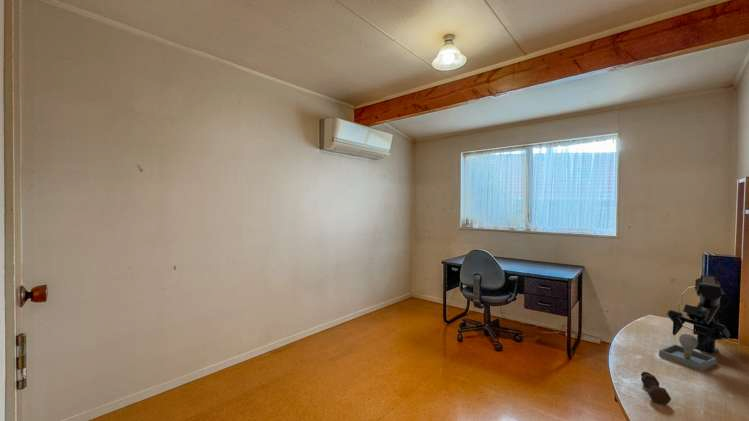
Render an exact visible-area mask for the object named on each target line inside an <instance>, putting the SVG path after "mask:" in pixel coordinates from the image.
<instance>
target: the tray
mask: <svg viewBox="0 0 749 421" xmlns="http://www.w3.org/2000/svg"><path fill="white" fill-rule="evenodd" d="M658 356H659V357H661V358H663V359H666V360H669V361H672V362H674V363H677V364H680V365H683V366H685V367H688V368H691V369H693V370H696V371H699V372H703V371H704V370H707V369H709V368H711V367H713V366H715V365H716V364H717V357H714V356H712V355H709V354H705V353H703V352H699V351H697V350H695V349H693V350H692V354H691V358H688V359H687V358H686V357H684V348H683V347H682V345H679V344H675V343H674V344H672V345H669V346H667V347H664V348H661V349H659V350H658Z"/></svg>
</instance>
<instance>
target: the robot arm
mask: <svg viewBox="0 0 749 421" xmlns="http://www.w3.org/2000/svg"><path fill="white" fill-rule="evenodd" d="M694 291H696V295H697V296H698V297H699V302H698V304H697V305H695V306H694V305H690V304H684V307H683V310H682V312H683V313H685V314H686V316H684V315H683V314H682V312H679V311H676V310H673V309H669V310H668V312H667V313H666V315H667V316H668V318H669V319H670V320H671V322H672V336H676V335H677V334H678V333H679V332H680V330H681V329H682V328H683V327H684V325H683V324H685V323H688V324H691V325H693V328H692V329H693V331H692V334H693V335H696V339H697V342H698V344H697V346H696V347H695V348H694V349H697V350H701V351H704V352H706V353H710V354H714V353H716V352H719V349H718V348H716V341H717V340H719V341H721V340H723V339H726V340H728V339H729V338H730V337H731V332H730V331H729V329H728V327H727V326H726V325H724V324H721V323H720V321H719V317H718V316H717V315H716V313H717V311H718V310H719V308H720V307H721V304H720V301H721V299H723V298H725V297H726V296H725V295H726V293H725V291H724V290H723V288H721V283H720V281H718V280H717V278H716V276H713V275H706V274H702V275H700V277H699V278H696V279H695V284H694Z"/></svg>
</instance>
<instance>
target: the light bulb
mask: <svg viewBox="0 0 749 421" xmlns="http://www.w3.org/2000/svg"><path fill="white" fill-rule="evenodd" d="M678 340H679V343H680V346H682V347H683V348H684V357H686V358H687V359H688V358H691V354H692V350H695V349H696V348H695V347H696V346H697V344H698V342H697V337H695V336H693V335H692V334H688V333H684V334H681V335H680V336H679V338H678Z"/></svg>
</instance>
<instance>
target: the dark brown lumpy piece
mask: <svg viewBox="0 0 749 421" xmlns="http://www.w3.org/2000/svg"><path fill="white" fill-rule="evenodd" d="M640 380H641V382H642V383H643V385H644V386H645V388H647V389H648V391H647V395H648V396H649V398H650V399H651V400H652V402H653V403H655V404H658V405H662V406H666V405H668V404H669V403H670V402H671V401H672V398H671V396H670V394H669V393H668V391H667V390H666V388H665V387H661V386H660V382H659V381H658V379H657V378H656V376H655V375H654V374H651V373H650V372H647V371H642V373H641V374H640Z"/></svg>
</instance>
